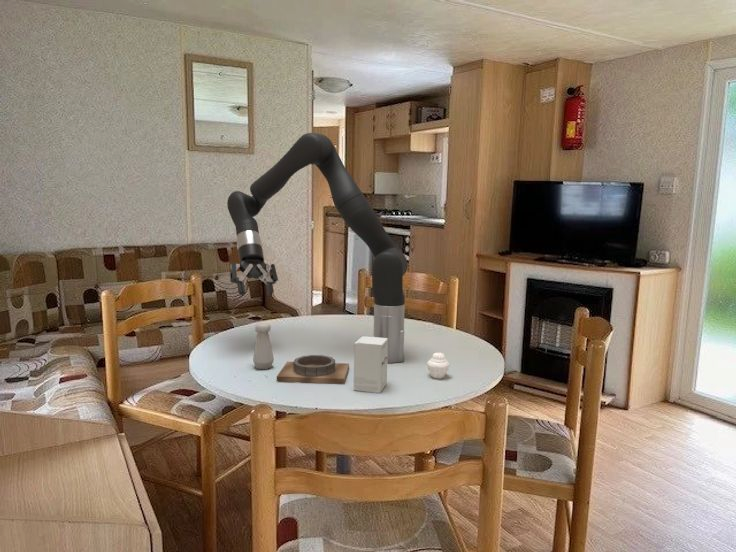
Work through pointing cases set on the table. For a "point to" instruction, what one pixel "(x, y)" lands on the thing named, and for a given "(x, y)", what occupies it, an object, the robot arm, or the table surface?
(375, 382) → the supplement box
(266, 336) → the salt shaker
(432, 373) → the muffin
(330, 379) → the socket base
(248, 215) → the robot arm
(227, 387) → the table surface
